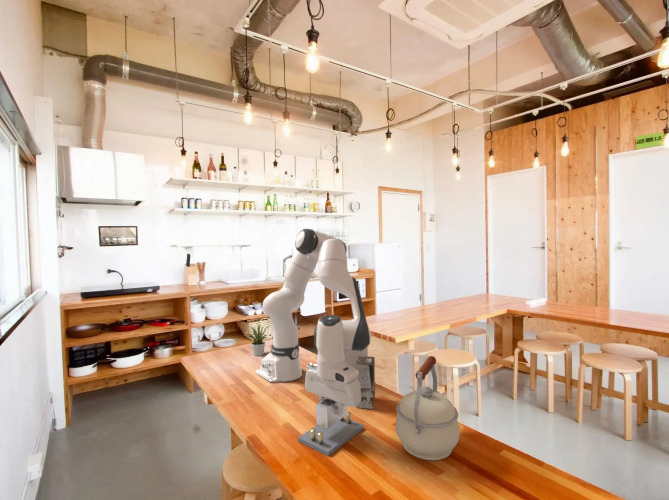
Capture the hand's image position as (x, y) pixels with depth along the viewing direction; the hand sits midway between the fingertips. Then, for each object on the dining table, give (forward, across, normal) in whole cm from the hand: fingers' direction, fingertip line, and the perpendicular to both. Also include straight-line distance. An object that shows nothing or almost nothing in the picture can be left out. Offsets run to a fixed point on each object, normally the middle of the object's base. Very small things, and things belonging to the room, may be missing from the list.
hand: (332, 411), depth 110 cm
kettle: (+8, +26, +14) cm, 30 cm away
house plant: (+8, -79, +36) cm, 87 cm away
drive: (+2, 0, 0) cm, 2 cm away
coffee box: (+8, -3, +24) cm, 25 cm away
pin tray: (+7, 0, 0) cm, 7 cm away
